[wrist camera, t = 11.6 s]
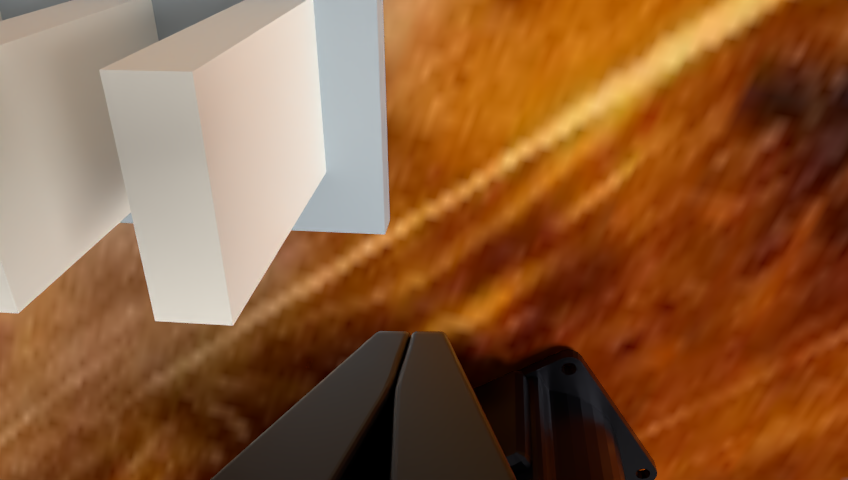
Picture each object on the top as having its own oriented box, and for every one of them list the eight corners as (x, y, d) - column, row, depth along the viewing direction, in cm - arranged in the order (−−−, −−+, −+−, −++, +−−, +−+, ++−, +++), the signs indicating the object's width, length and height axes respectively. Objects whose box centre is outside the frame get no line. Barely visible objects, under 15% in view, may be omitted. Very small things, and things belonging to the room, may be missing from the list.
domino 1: (150, -6, 19) (-64, 66, 12) (181, 167, 21) (18, 313, 14) (94, -6, 19) (-150, 64, 12) (131, 165, 21) (-55, 309, 14)
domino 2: (312, -4, 18) (192, 72, 11) (326, 172, 21) (232, 325, 14) (254, -5, 19) (99, 69, 11) (274, 170, 21) (155, 321, 14)
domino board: (380, -90, 18) (372, -88, 17) (389, 220, 22) (383, 237, 21) (-396, -89, 20) (-445, -87, 19) (-255, 192, 25) (-289, 207, 23)
